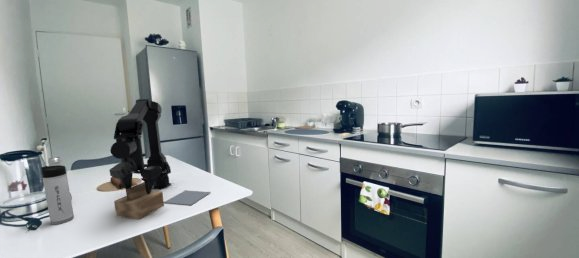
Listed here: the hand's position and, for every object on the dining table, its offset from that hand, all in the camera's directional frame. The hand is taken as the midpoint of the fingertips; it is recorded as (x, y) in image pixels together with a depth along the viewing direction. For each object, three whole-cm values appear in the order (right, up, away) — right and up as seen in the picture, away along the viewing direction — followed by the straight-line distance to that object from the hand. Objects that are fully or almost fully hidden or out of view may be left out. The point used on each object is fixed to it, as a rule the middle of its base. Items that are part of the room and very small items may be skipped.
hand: (138, 193), depth 95 cm
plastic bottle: (-38, -8, +10) cm, 40 cm away
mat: (+14, -5, +11) cm, 18 cm away
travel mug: (-25, -9, -4) cm, 27 cm away
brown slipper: (-28, -4, +35) cm, 46 cm away
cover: (0, -7, +1) cm, 7 cm away
